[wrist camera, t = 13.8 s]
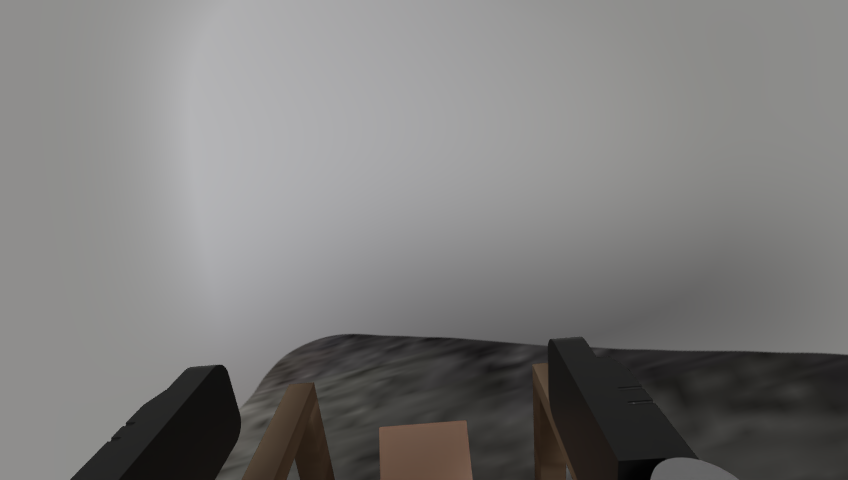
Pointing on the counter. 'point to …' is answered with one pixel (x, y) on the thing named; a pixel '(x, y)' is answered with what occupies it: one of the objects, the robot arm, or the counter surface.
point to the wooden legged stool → (305, 441)
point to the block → (425, 452)
